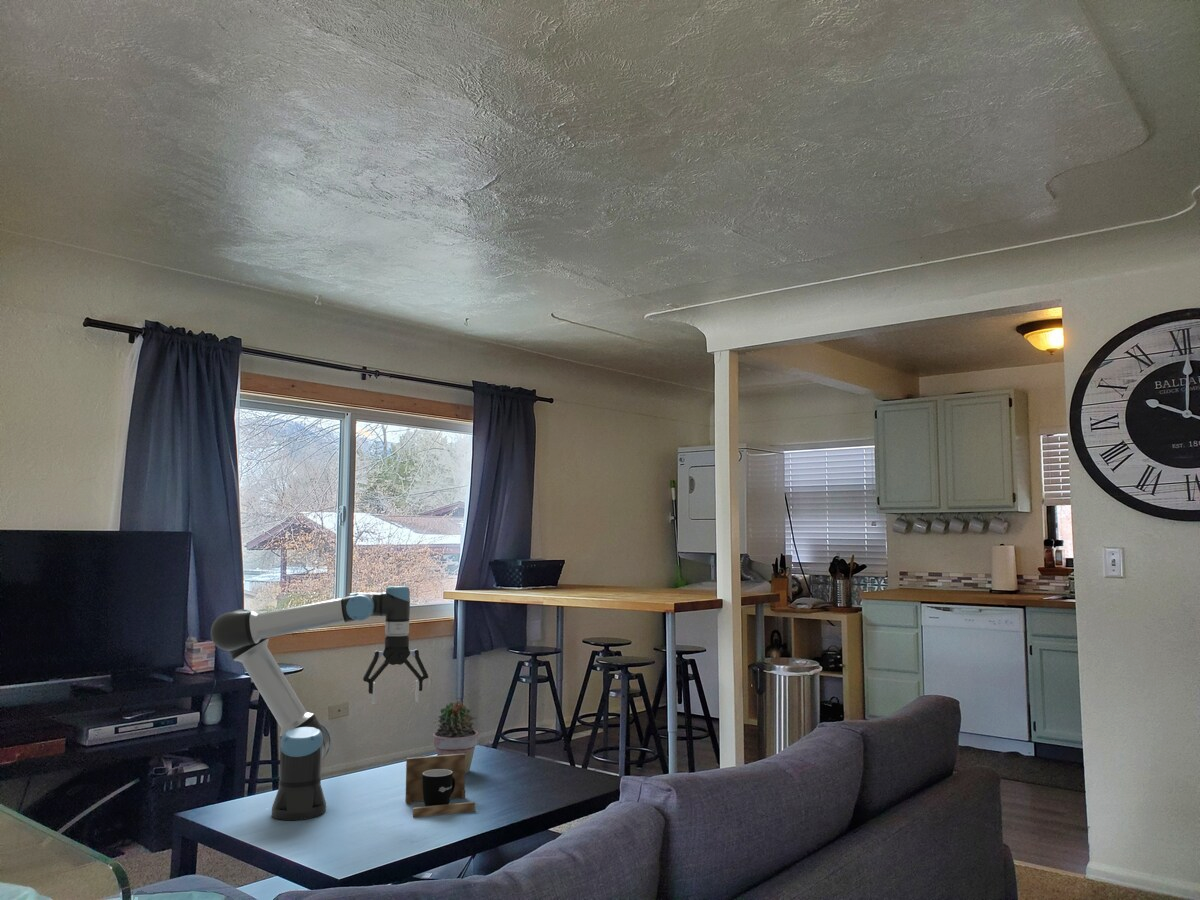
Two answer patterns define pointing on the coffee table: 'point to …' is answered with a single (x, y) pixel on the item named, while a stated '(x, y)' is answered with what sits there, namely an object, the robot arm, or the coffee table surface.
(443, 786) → the mug
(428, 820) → the coffee table surface
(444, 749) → the potted plant
